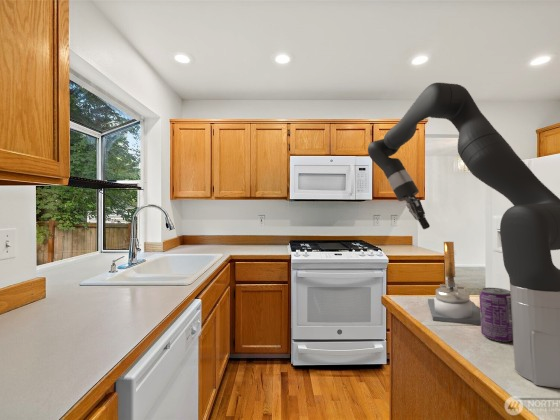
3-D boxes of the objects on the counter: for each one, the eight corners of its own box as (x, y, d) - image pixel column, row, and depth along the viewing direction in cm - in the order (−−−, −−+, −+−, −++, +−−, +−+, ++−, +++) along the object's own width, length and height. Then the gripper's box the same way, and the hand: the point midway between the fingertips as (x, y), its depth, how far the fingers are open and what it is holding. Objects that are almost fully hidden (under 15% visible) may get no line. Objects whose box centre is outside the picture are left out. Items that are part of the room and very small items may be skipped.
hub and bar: (471, 304, 84) (467, 247, 85) (435, 301, 88) (432, 246, 89) (466, 289, 101) (463, 241, 101) (436, 287, 105) (434, 241, 106)
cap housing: (488, 325, 82) (487, 306, 83) (433, 320, 88) (432, 303, 88) (473, 305, 101) (472, 290, 101) (427, 302, 106) (427, 287, 106)
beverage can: (509, 334, 76) (507, 287, 77) (521, 345, 70) (518, 294, 70) (477, 331, 79) (475, 286, 79) (486, 342, 72) (483, 293, 72)
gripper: (414, 174, 99) (441, 220, 94) (411, 186, 112) (434, 227, 106) (393, 184, 101) (418, 229, 95) (392, 194, 113) (414, 235, 107)
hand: (426, 228), depth 101 cm, fingers closed
